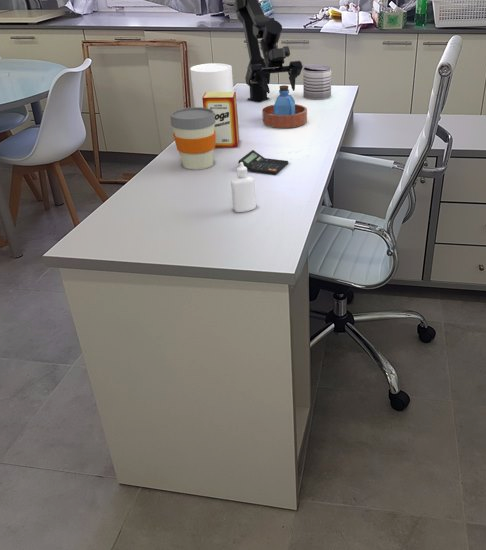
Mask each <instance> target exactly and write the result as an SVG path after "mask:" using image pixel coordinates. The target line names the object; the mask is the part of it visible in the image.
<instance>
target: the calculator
mask: <svg viewBox="0 0 486 550" xmlns="http://www.w3.org/2000/svg"><path fill="white" fill-rule="evenodd" d="M240 162H243V165H244V166H245V167H247V171H250V172H251V173H257V174H265V175H272V176H276V175H278V174H279V173H280V172H281V171H282V170H284V168H285V167H286V166H287V165H289V161H288V160H284V159H276V158H269V157H268V158H266V157H264V156H263V155H261V154H259V153H258V152H257V151H255V150H253V149H252V150H250V151H249V152H248V153H247V154H246V155H244V156H243V157H241V158H240V159H239V160H238V162H237V163H238V164H239V165H240Z"/></svg>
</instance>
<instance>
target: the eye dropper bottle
mask: <svg viewBox="0 0 486 550" xmlns="http://www.w3.org/2000/svg"><path fill="white" fill-rule="evenodd" d="M230 187H231V198H232V209H233V211H234V212H236V213H246V212H249V211H252V210H254V209H256V208H257V197H256V196H257V195H256V183H255V179H254V177H252V176H251V175H248V169H247V167H245V166H244V165H243V162H240V164H239V166H238V167H236V177H235V178H233V179H232V180H231V184H230Z"/></svg>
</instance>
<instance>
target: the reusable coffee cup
mask: <svg viewBox="0 0 486 550" xmlns="http://www.w3.org/2000/svg"><path fill="white" fill-rule="evenodd" d="M215 122H216V121H215V116H214V111H213V110H211V109H209V108H202V107H195V106H193V107H184V108H180V109H176V110H174V111H172V112H171V113H170V126H171V127H172V130H173V140H174V142H175V143H174V144H175V146H176V150H177V151H178V153H179V156H180V159H181V163H182V166H183V168H186V169H187V170H203V169H208V168H210V167H213V165H214V161H215V160H214V159H215V158H214V157H215V155H214V153H215V149H216V148H215V140H216V131H215V130H214V124H215Z"/></svg>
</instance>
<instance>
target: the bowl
mask: <svg viewBox="0 0 486 550" xmlns="http://www.w3.org/2000/svg"><path fill="white" fill-rule="evenodd" d="M261 114H262V115H261V116H262V123H263V124H264V125H265V126H266V127H267V126H268V127H271V128H276V129H277V128H278V129H291V128H297V127H300V126H301V127H302V126H303V125H305V124H306V123H308V122H307V121H308V108H307V107H306V106H304V105H302V104H298V103H297V104H296V103H295V114H294V115H274V104H270V105H267V106H265V107H263V108H262V110H261Z"/></svg>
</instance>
